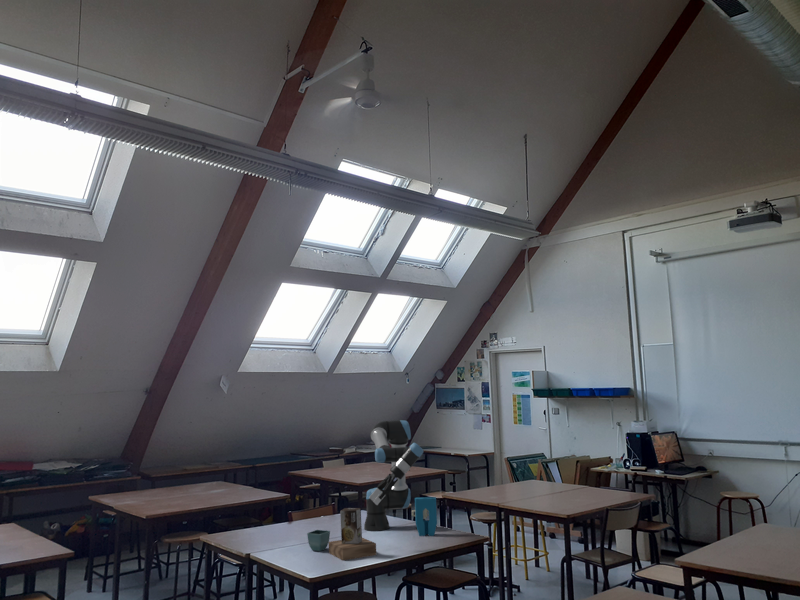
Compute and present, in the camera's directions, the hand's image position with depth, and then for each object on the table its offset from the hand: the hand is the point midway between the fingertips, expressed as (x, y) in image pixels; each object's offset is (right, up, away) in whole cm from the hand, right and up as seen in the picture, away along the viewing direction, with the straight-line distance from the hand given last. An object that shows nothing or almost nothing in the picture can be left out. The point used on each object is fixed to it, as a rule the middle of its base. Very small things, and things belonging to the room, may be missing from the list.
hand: (372, 501), depth 303 cm
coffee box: (-10, -19, -6) cm, 22 cm away
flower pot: (-28, -27, +4) cm, 39 cm away
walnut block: (-10, -25, -7) cm, 27 cm away
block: (+29, -30, +31) cm, 52 cm away
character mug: (+27, -32, +44) cm, 61 cm away
